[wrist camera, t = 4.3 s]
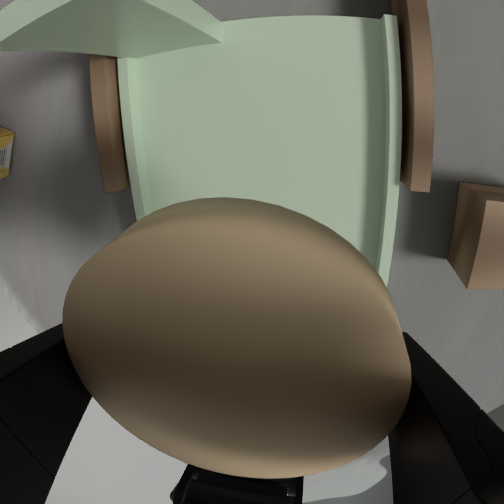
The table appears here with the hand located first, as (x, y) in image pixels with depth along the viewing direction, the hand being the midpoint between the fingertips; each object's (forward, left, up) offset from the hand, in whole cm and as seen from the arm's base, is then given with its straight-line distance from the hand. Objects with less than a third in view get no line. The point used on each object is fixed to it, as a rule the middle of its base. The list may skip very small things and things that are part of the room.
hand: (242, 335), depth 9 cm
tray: (+3, +1, -11) cm, 11 cm away
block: (0, -13, -11) cm, 17 cm away
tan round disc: (0, 0, +1) cm, 1 cm away
